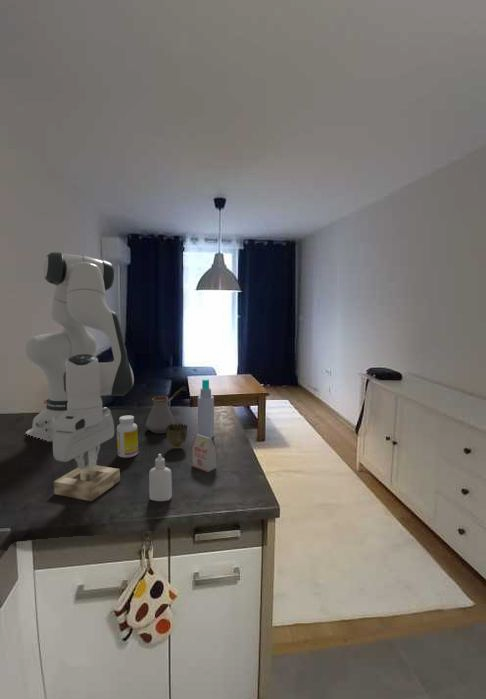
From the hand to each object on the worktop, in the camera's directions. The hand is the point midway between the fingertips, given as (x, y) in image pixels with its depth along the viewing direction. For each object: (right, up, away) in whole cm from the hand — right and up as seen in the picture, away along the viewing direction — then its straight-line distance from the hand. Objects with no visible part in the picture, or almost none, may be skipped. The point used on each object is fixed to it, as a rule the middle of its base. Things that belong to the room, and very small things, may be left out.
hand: (87, 464), depth 106 cm
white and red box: (+30, -5, +14) cm, 34 cm away
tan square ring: (0, -7, +1) cm, 7 cm away
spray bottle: (+29, -2, +41) cm, 50 cm away
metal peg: (0, -5, +1) cm, 5 cm away
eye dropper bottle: (+21, -8, -5) cm, 23 cm away
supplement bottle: (+4, -4, +23) cm, 24 cm away
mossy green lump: (+19, -3, +29) cm, 35 cm away
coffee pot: (+12, 0, +52) cm, 54 cm away
